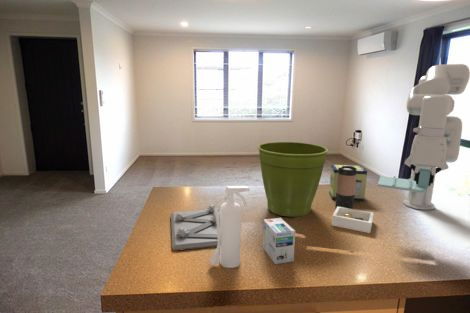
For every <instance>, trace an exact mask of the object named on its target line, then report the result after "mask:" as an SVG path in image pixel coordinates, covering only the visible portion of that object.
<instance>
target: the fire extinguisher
mask: <svg viewBox="0 0 470 313" xmlns="http://www.w3.org/2000/svg"><path fill="white" fill-rule="evenodd" d="M244 192H250V186H249V187H248V186H247V185H226V187H225V192H224V193H226V195H224V196H221V197H219V198H218V199H217V200H216V201H215V203H214V204H215V208H214V212H215V216H216V223H217V238H218V245H217V246H216V248H215V250H213V253H212V256H210V259H209V261H208V263H209V264H211V265H214V266H215V265H218V264H219V265H221V266H222V267H223V268H226V269H233V268H238V266H239V265H240V264H241V229H242V228H241V226H242V224H241V223H242V222H241V221H242V219H241V217H242V215H241V214H242V209H241V205H240V204H239V203H237V202H235V195H236V196H238V198H239V199H240V202H241V204H242V206H244V207H245V206H247V205H248V203H247V201H246V198H245V197H244V196H243V195H242V194H241V193H244ZM234 194H235V195H234ZM223 200H226V201H225V202H224V203H222V204H221V205H220V208H219V203H220V202H222V201H223ZM218 208H219V209H220V223H219V216H218V211H217V209H218Z"/></svg>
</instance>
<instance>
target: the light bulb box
mask: <svg viewBox="0 0 470 313" xmlns="http://www.w3.org/2000/svg"><path fill="white" fill-rule="evenodd" d="M262 242H263V245H262V248H263V250H264V251H265V252H266V254H267V255H268V257H269V258H270V259H271V261H272V262H273V263H274V264H275V265H279V264H285V263H286V264H287V263H292V262H294V261H295V243H296V230H295V229H294V228H293V227H292V226H291V225H289V224H288V223H287V222H286V221H285V220H284V219H283V218H282V217H277V218H276V217H274V218H264V219H263V241H262Z"/></svg>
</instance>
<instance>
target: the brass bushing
mask: <svg viewBox="0 0 470 313" xmlns="http://www.w3.org/2000/svg"><path fill="white" fill-rule="evenodd" d="M344 217H347V218H352V214H351V213H344Z"/></svg>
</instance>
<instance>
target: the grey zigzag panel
mask: <svg viewBox="0 0 470 313" xmlns="http://www.w3.org/2000/svg"><path fill="white" fill-rule="evenodd" d="M214 208H215V203H213V205H209V206H208V207H206V209H200V210H199V209H198V210H196V209H195V210H185V211H173V212H172V213H171V214H170V220H171V221H170V225H171V243H172V248H171V249H173V250H174V251H182V250H181V249H186V250H192V248H195V249H203V247H205V248H212V247H213V248H215V247H217V245H218V238H217V223H216V216H215V212H214ZM217 211H218V216H219V223H220V208H219V207H218V208H217ZM214 246H215V247H214Z"/></svg>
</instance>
